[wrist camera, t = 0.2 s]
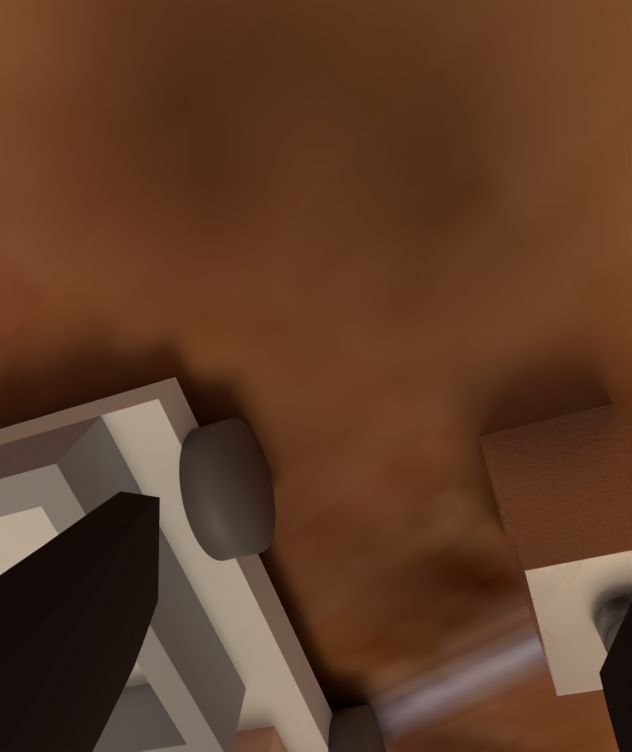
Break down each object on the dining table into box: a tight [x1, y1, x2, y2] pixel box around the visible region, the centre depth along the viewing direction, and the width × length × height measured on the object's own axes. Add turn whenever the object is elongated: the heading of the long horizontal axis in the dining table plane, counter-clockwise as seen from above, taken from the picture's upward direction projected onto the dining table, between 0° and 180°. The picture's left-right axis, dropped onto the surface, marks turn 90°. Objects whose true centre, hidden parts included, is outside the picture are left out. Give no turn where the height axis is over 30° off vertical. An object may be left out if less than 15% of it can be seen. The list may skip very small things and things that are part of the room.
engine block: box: [479, 404, 632, 696], centre depth 15 cm, size 4×4×7 cm
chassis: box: [0, 377, 385, 752], centre depth 20 cm, size 20×14×6 cm
